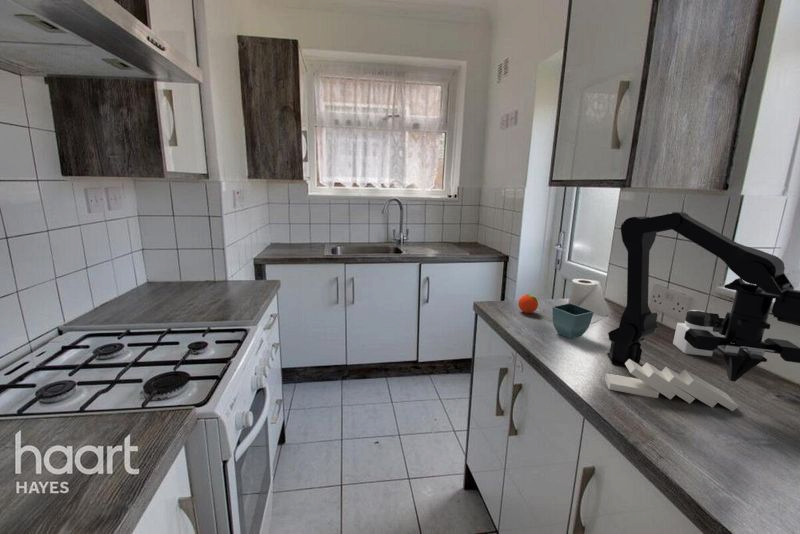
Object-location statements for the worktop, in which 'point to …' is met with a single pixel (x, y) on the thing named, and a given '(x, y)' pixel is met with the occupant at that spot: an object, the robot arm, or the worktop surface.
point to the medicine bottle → (695, 322)
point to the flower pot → (571, 320)
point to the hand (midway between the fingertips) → (731, 380)
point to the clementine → (528, 303)
